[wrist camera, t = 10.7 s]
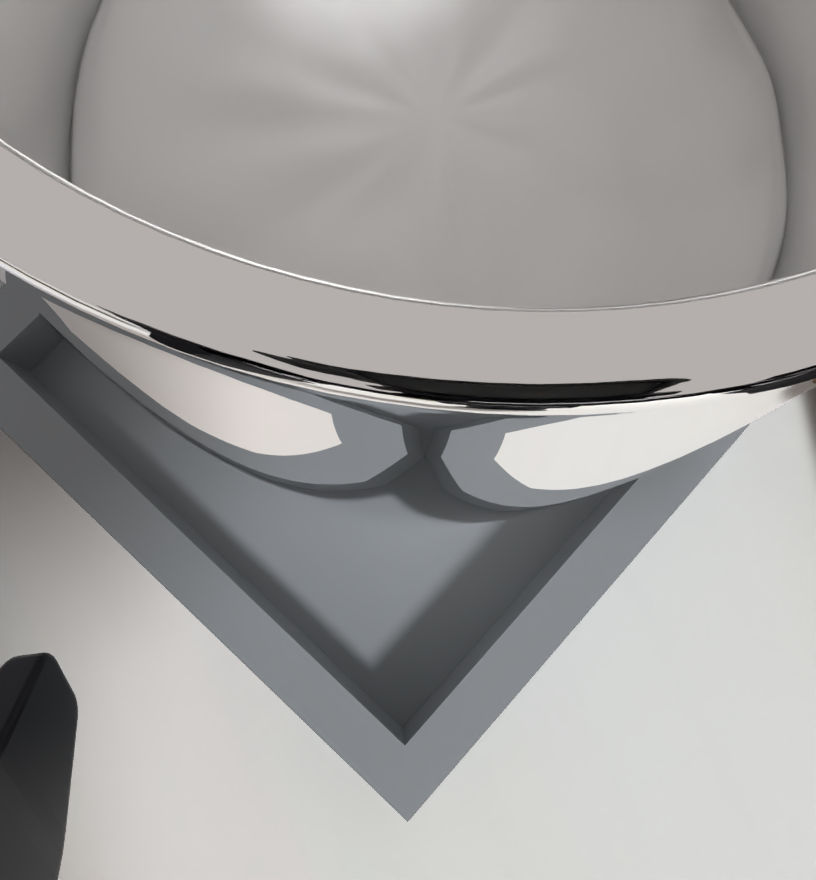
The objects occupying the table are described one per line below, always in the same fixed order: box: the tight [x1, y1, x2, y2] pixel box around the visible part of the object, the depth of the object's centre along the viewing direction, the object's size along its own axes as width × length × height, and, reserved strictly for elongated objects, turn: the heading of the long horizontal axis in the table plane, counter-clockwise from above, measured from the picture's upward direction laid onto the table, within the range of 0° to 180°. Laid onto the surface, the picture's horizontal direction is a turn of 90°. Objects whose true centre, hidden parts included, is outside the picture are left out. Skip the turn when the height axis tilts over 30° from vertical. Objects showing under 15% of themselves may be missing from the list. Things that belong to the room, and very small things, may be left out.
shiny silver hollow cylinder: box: [0, 0, 816, 525], centre depth 10 cm, size 7×7×15 cm
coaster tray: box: [0, 284, 750, 822], centre depth 17 cm, size 14×14×2 cm
